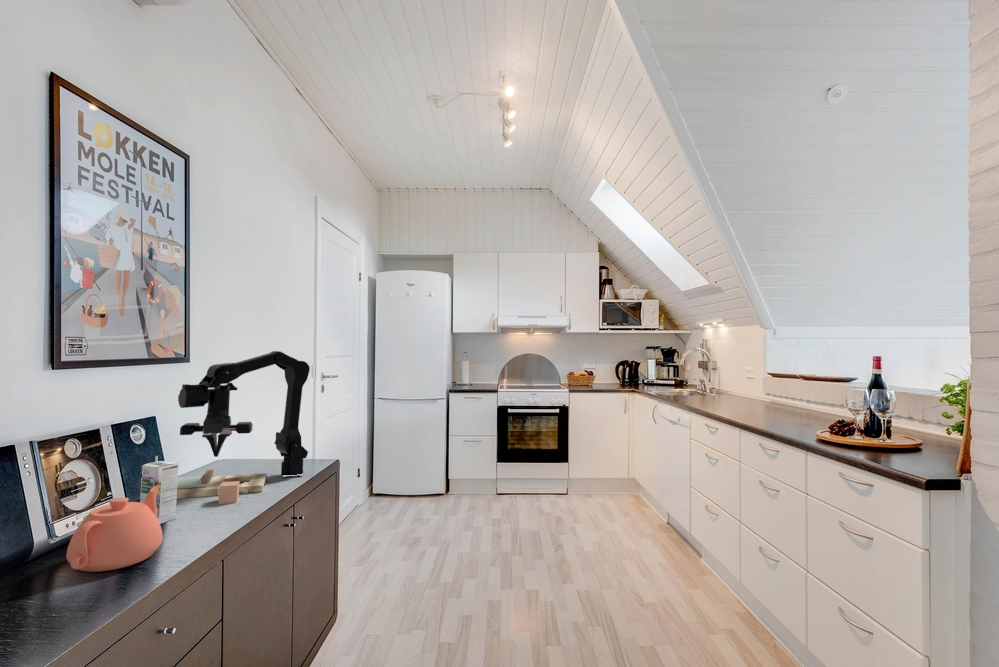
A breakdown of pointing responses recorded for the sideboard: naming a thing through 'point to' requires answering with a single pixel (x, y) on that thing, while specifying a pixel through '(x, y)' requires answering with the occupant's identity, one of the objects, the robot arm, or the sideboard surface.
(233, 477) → the puzzle board
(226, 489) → the block
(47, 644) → the sideboard surface
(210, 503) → the sideboard surface
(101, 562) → the teapot
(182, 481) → the cover
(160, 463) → the syrup box
